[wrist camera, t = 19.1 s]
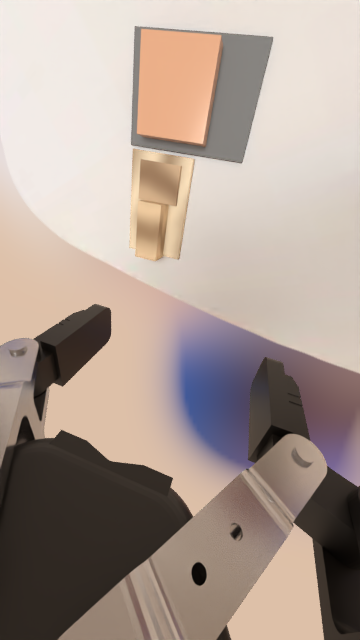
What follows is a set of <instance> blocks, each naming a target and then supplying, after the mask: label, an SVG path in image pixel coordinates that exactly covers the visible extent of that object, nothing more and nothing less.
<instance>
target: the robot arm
mask: <svg viewBox="0 0 360 640" xmlns="http://www.w3.org/2000/svg"><path fill="white" fill-rule="evenodd" d="M110 336H111V310H110V309H109V308H107V307H104V306H101V305H97V304H94V305H92V306H91V307H89V308H88V309H86V310H82V311H79V312H76V313H73V314H72V315H70V316H68V317H67V318H66V319H65V320H62V321H61V322H59V324H56V325H55V326H53V327H51V328H50V329H48V330H47V331H45V332H44V333H42V334H41V335H39V336H37V337H36V338H34V339H29V338H20V339H15V340H12V341H9V342H6V343H4V344H3V345H1V346H0V640H231V638H230V635H229V631H228V628H227V623H228V622H229V620H230V619H231V618H232V616H233V615H234V613H235V612H236V610H237V609H238V607H239V606H240V605H241V603H242V602H243V600H244V599H245V597H246V596H247V594H248V593H249V591H250V590H251V589H252V587H253V586H254V584H255V583H256V581H257V580H258V578H259V577H260V576H261V574H262V573H263V571H264V570H265V568H266V567H267V566H268V564H269V563H270V561H271V560H272V558H273V557H274V555H275V554H276V553H277V551H278V550H279V548H280V547H281V545H282V544H283V543H284V541H285V540H286V538H287V537H288V535H289V533H290V532H291V530H292V528H293V523H295V524H296V525H297V526H298V527H300V528H301V529H302V530H303V531H304V532H306V533H307V534H308V535H309V536H310V537H312V539H313V547H314V556H315V564H316V573H317V580H318V590H319V598H320V607H321V615H322V624H323V633H324V640H360V486H359V487H357V486H355V485H354V484H352V483H351V482H349V481H348V480H347V479H345V478H343V477H342V476H341V475H339V474H337V473H336V472H335V471H333V470H332V469H330V468H329V467H328V466H327V465H326V462H325V459H324V457H323V455H322V453H321V452H320V451H319V449H318V448H317V447H316V446H315V445H314V444H313V443H312V442H311V441H310V437H309V433H308V428H307V424H306V419H305V415H304V410H303V407H302V401H301V399H300V397H301V396H300V392H299V387H298V386H297V384H296V383H295V381H294V380H293V378H292V377H291V376H288V375H285V373H284V366H283V363H282V362H280V361H276V360H273V359H270V358H267V357H265V358H264V359H263V361H262V363H261V365H260V368H259V369H258V371H257V374H256V376H255V378H254V380H253V382H252V386H251V392H250V419H249V453H248V460H250V461H252V462H255V464H254V465H253V466H252V467H251V468H250V469H246V470H244V471H243V472H242V473H241V474H239V475H238V476H237V477H236V478H235V479H234V480H233V481H232V482H231V483H230V484H229V485H228V486H226V487H225V488H224V489H223V490H222V491H221V492H220V493H219V494H218V495H217V496H216V497H215V498H213V499H212V500H211V501H210V502H209V503H208V504H207V505H206V506H205V507H204V508H203V509H201V510H200V511H199V512H198V513H197V514H196V515H195V516H194V517H193V516H192V514H191V512H190V510H189V509H188V507H187V505H186V504H185V503H184V501H183V500H182V499H181V497H180V496H179V495H178V494H177V493H176V492H175V491H174V490H173V489H172V488H170V486H171V483H172V479H173V478H172V477H169V476H167V475H164V474H162V473H160V472H158V471H155V470H153V469H151V468H148V467H146V466H144V465H136V464H128V463H119V462H112V461H109V460H108V459H106V458H105V457H104V456H103V455H102V454H101V453H100V452H99V451H97V450H96V449H95V448H94V447H93V446H92V445H91V444H90V443H89V442H87V441H86V440H83V439H81V438H79V437H77V436H74V435H72V434H70V433H67V432H65V431H62V430H61V431H60V432H59V434H58V435H57V436H56V437H55V438H45V436H44V425H45V418H46V410H47V404H48V397H49V386H50V385H51V384H52V383H55V384H58V385H61V386H64V385H65V384H66V383H67V382H68V381H69V380H70V379H71V378H72V377H73V376H74V375H75V374H76V373H77V372H78V371H79V370H80V369H81V368H82V367H83V366H84V365H85V364H86V363H87V362H88V361H89V360H90V359H91V358H92V357H93V356H94V355H95V354H96V353H97V352H98V351H99V350H100V349H101V348H102V347H103V346H104V345H105V344H106V343H107V342H108V341H109V339H110Z"/></svg>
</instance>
